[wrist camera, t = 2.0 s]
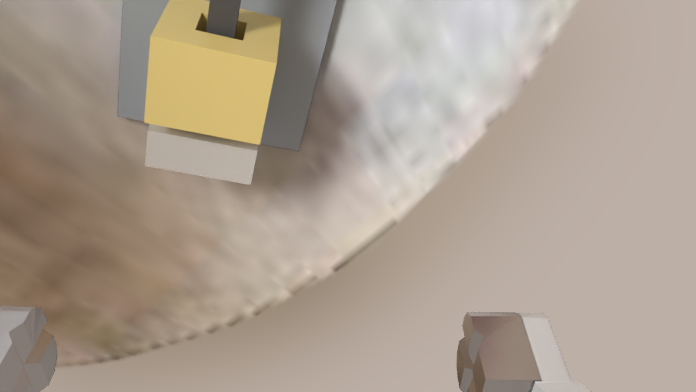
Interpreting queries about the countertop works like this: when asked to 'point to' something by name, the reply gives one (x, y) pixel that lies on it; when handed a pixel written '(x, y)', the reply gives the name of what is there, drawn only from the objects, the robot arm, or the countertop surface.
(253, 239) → the countertop surface
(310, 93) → the grey slider rail toy
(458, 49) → the countertop surface
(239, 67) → the sleeve
